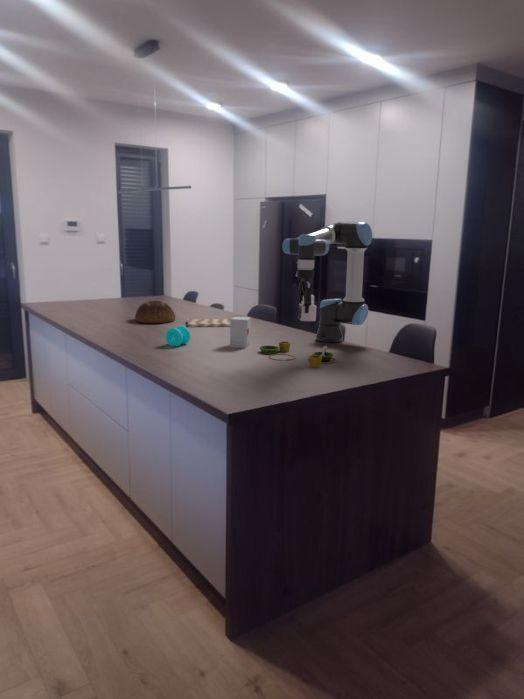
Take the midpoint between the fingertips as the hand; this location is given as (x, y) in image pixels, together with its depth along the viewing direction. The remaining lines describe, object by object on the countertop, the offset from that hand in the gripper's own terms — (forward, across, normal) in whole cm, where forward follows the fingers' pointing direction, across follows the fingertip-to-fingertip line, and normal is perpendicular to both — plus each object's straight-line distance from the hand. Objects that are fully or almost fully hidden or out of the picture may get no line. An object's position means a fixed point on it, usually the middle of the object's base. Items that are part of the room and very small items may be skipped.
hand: (303, 318), depth 250 cm
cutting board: (+19, -100, -34) cm, 107 cm away
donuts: (+20, -36, -57) cm, 70 cm away
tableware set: (+21, -2, -1) cm, 21 cm away
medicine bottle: (+1, 0, +2) cm, 2 cm away
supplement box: (+20, -32, -25) cm, 45 cm away
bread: (+20, -115, -69) cm, 136 cm away
